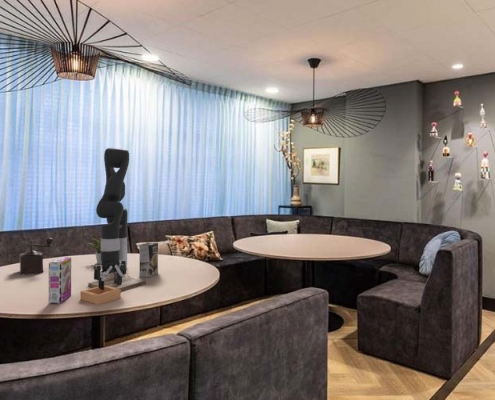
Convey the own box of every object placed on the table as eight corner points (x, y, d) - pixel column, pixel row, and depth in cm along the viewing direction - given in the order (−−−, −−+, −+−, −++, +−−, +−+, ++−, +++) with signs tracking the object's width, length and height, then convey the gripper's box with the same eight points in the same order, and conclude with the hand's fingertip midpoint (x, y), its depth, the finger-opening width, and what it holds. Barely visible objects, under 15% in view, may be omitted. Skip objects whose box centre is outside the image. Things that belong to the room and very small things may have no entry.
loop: (80, 299, 154) (80, 291, 154) (103, 293, 163) (103, 285, 163) (97, 304, 148) (97, 295, 148) (120, 297, 158) (120, 289, 157)
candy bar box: (61, 304, 149) (61, 262, 148) (48, 304, 148) (47, 262, 147) (72, 295, 160) (71, 256, 159) (59, 295, 159) (59, 256, 158)
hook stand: (88, 286, 173) (88, 266, 173) (120, 278, 188) (120, 260, 188) (113, 293, 164) (113, 272, 163) (145, 283, 179) (145, 264, 178)
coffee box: (150, 277, 191) (150, 245, 190) (139, 276, 192) (138, 244, 192) (158, 273, 200) (158, 242, 199) (147, 272, 201) (147, 242, 200)
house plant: (106, 258, 234) (106, 232, 233) (120, 261, 226) (120, 234, 225) (85, 262, 222) (85, 235, 222) (99, 266, 214) (98, 237, 214)
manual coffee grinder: (20, 275, 192) (19, 240, 191) (19, 271, 201) (19, 237, 200) (54, 271, 200) (54, 237, 199) (52, 267, 209) (52, 235, 208)
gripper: (118, 245, 167) (118, 282, 167) (89, 250, 155) (90, 289, 155) (130, 247, 163) (130, 284, 163) (101, 252, 151) (101, 292, 151)
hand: (110, 287), depth 159 cm, fingers open, 8 cm apart
